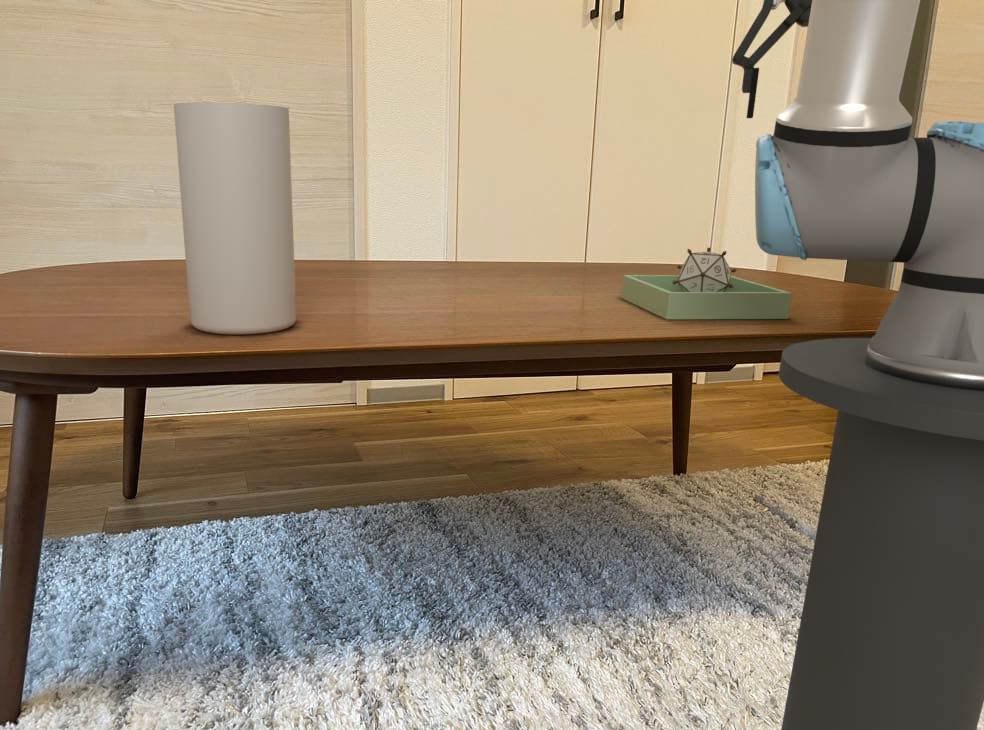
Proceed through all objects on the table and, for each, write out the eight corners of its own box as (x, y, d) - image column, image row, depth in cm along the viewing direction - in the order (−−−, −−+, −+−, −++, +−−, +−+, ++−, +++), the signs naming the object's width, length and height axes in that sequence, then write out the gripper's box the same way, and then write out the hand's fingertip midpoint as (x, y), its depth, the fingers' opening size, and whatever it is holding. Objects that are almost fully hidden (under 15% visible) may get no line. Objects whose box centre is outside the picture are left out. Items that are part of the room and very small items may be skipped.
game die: (693, 326, 117) (703, 268, 120) (744, 314, 110) (752, 253, 113) (655, 299, 112) (666, 240, 115) (705, 285, 105) (716, 223, 108)
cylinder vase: (187, 337, 88) (168, 100, 80) (194, 317, 99) (178, 108, 92) (299, 334, 90) (291, 105, 83) (293, 315, 102) (286, 112, 95)
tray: (788, 319, 107) (792, 292, 106) (666, 319, 104) (669, 292, 103) (727, 298, 123) (730, 275, 122) (621, 298, 121) (623, 275, 120)
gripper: (922, -49, 104) (892, 119, 110) (726, -39, 111) (708, 119, 117) (938, -65, 97) (905, 116, 103) (727, -53, 104) (708, 115, 110)
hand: (800, 118), depth 110 cm, fingers open, 13 cm apart
